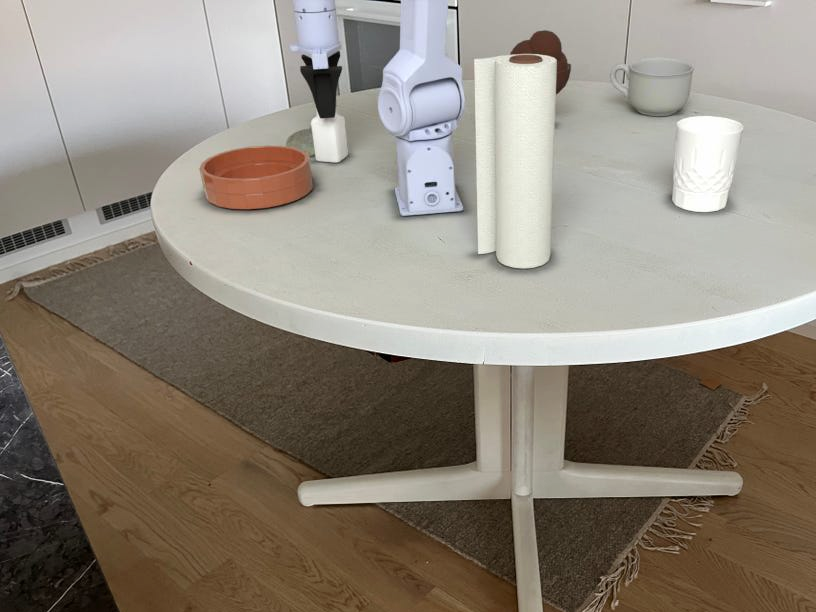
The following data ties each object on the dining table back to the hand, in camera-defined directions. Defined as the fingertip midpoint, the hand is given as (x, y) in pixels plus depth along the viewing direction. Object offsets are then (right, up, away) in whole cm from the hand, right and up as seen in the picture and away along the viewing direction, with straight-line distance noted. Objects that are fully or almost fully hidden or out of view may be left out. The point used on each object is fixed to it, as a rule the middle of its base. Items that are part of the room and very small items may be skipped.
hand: (327, 110), depth 115 cm
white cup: (+50, -16, -14) cm, 55 cm away
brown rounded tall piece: (+32, +3, +17) cm, 36 cm away
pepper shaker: (0, -6, +4) cm, 7 cm away
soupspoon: (-5, 0, +14) cm, 15 cm away
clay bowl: (-8, -13, -7) cm, 17 cm away
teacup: (+52, +7, +23) cm, 57 cm away
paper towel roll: (+27, -25, -27) cm, 45 cm away
